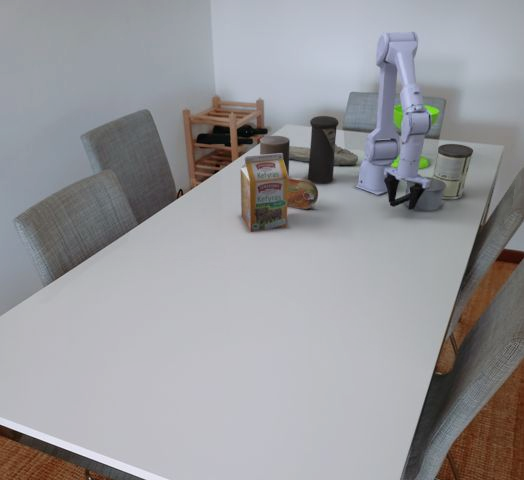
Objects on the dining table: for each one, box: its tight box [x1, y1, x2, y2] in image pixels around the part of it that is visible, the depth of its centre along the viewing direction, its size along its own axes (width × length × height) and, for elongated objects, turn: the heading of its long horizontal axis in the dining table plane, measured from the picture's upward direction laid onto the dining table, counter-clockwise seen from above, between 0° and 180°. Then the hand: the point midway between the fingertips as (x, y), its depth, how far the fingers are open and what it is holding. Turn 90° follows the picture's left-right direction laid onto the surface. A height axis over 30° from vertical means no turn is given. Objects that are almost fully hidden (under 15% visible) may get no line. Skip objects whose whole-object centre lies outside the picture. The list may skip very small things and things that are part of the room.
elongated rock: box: [289, 143, 359, 167], centre depth 189 cm, size 35×5×10 cm
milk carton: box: [240, 153, 288, 233], centre depth 141 cm, size 11×11×19 cm
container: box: [307, 115, 340, 185], centre depth 167 cm, size 9×9×20 cm
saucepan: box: [389, 176, 446, 212], centre depth 153 cm, size 12×22×8 cm, turn 131°
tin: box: [287, 176, 319, 210], centre depth 154 cm, size 15×3×8 cm, turn 62°
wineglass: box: [391, 104, 440, 170], centre depth 183 cm, size 16×16×18 cm
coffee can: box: [432, 143, 474, 200], centre depth 160 cm, size 10×10×14 cm
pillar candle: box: [259, 135, 290, 177], centre depth 168 cm, size 10×10×15 cm
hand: (401, 205), depth 150 cm, fingers open, 7 cm apart
